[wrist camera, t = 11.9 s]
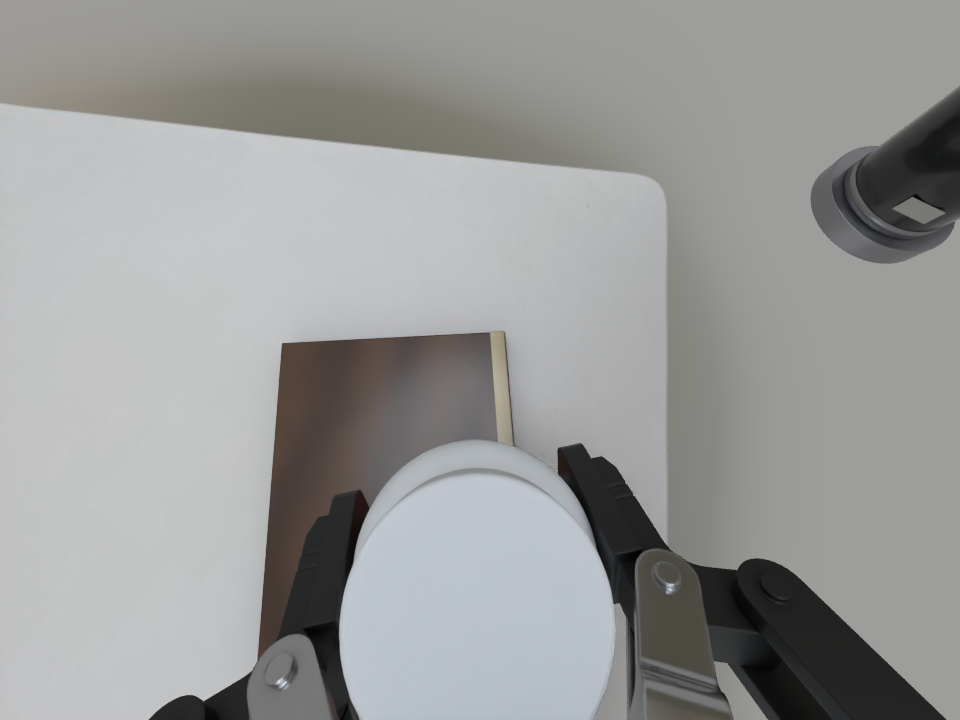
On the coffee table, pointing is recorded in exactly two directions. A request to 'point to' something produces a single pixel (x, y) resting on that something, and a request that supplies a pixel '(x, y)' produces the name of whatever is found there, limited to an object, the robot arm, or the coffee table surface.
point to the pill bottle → (476, 594)
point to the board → (369, 429)
